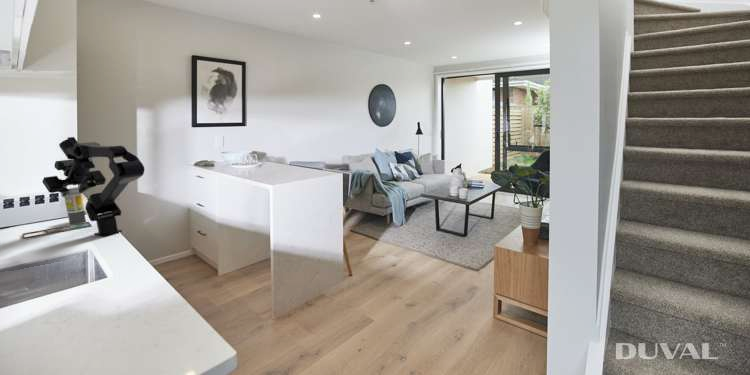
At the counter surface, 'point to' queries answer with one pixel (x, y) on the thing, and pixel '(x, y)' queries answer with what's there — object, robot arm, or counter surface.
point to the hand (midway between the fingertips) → (71, 194)
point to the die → (76, 217)
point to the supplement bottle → (74, 200)
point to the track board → (59, 229)
